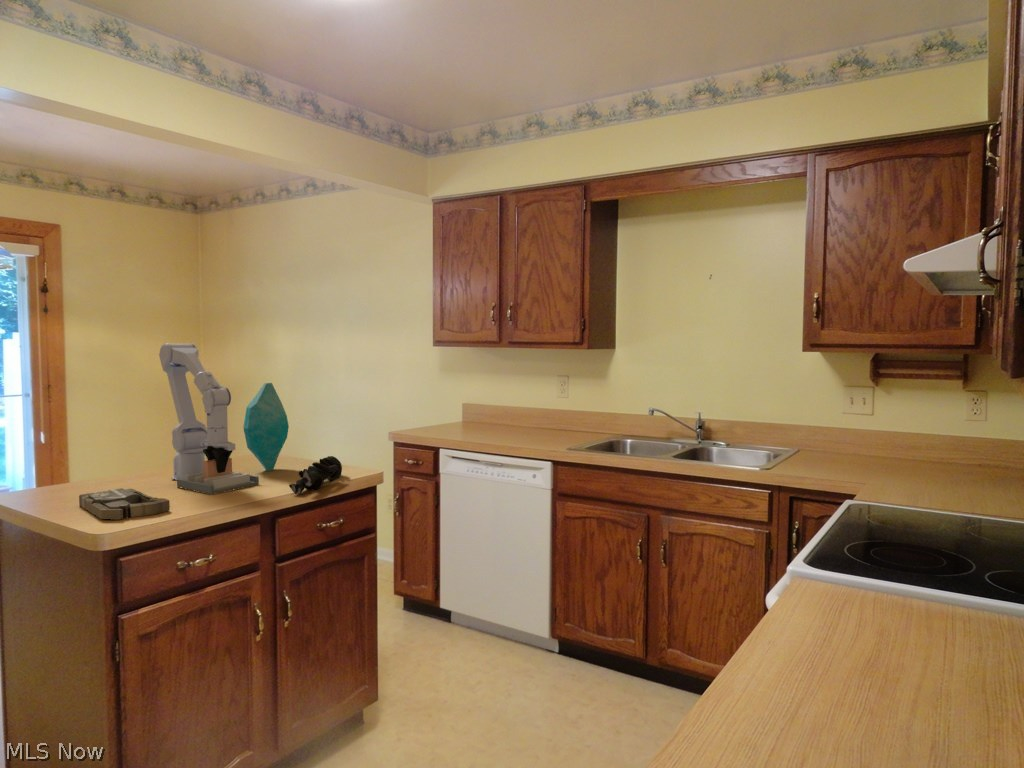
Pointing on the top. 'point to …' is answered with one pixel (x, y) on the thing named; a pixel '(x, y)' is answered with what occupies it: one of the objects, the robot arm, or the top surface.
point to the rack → (217, 482)
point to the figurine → (317, 474)
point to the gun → (122, 504)
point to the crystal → (266, 426)
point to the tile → (215, 468)
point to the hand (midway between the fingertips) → (218, 471)
